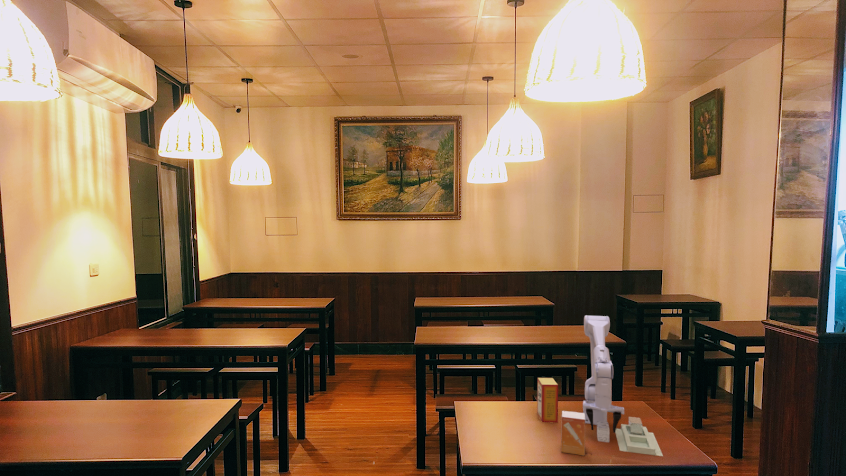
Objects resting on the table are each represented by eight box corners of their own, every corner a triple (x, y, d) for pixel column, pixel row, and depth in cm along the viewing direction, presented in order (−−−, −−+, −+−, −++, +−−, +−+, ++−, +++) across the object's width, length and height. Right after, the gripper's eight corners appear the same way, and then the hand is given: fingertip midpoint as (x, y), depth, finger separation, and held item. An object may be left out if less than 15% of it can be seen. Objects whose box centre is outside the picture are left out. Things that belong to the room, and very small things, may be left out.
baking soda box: (537, 413, 204) (537, 376, 204) (552, 413, 204) (552, 377, 204) (541, 422, 195) (542, 383, 195) (557, 422, 195) (558, 384, 194)
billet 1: (597, 443, 176) (598, 427, 176) (596, 436, 181) (596, 421, 181) (609, 444, 175) (609, 428, 174) (607, 437, 180) (608, 422, 180)
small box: (561, 452, 168) (561, 416, 168) (561, 445, 174) (561, 410, 174) (585, 456, 165) (585, 419, 165) (584, 448, 172) (584, 412, 171)
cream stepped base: (619, 452, 168) (619, 445, 168) (614, 430, 187) (614, 423, 187) (663, 458, 164) (663, 450, 164) (652, 434, 183) (653, 427, 183)
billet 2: (630, 438, 178) (630, 422, 178) (628, 431, 184) (628, 416, 184) (642, 439, 177) (642, 423, 177) (639, 433, 183) (639, 417, 182)
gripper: (583, 396, 176) (583, 432, 176) (625, 400, 172) (625, 437, 172) (582, 390, 183) (582, 424, 183) (623, 393, 179) (622, 429, 179)
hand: (603, 430), depth 178 cm, fingers open, 7 cm apart
